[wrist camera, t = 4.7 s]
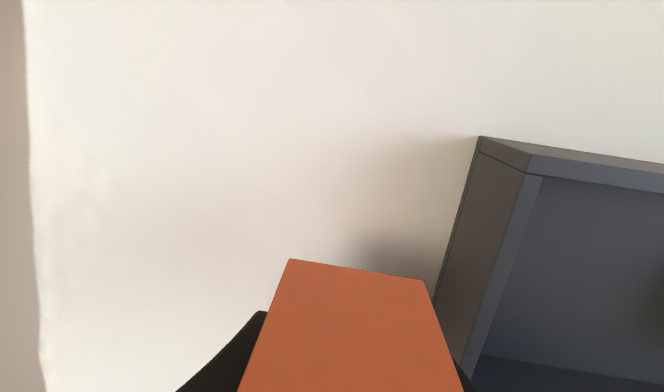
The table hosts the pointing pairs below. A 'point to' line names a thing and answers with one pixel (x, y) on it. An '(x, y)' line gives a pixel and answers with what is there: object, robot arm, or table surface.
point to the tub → (556, 272)
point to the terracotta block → (349, 335)
